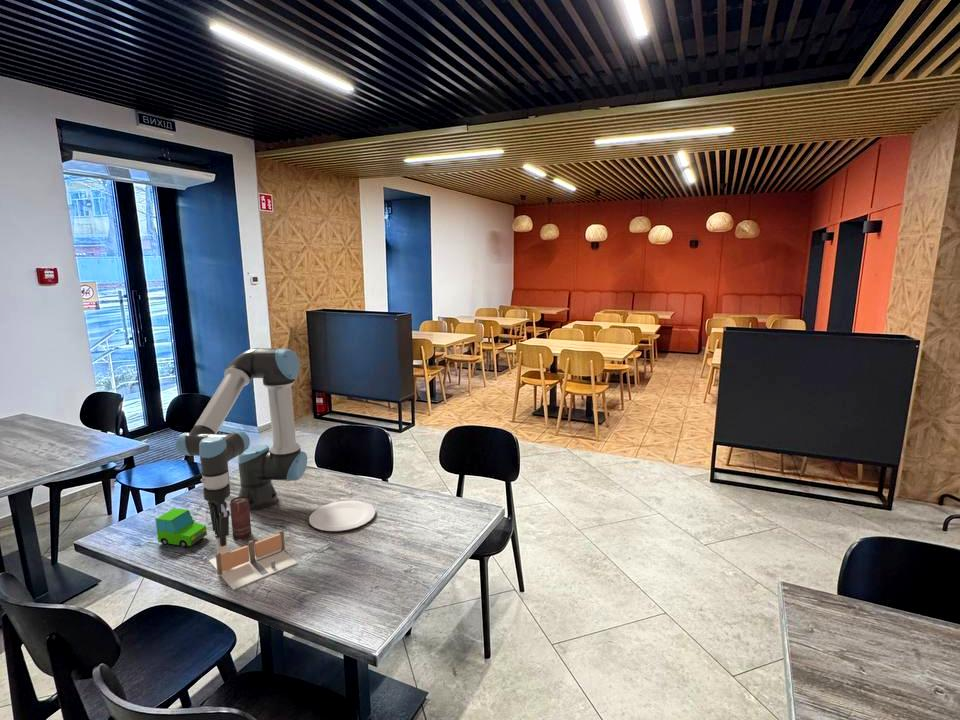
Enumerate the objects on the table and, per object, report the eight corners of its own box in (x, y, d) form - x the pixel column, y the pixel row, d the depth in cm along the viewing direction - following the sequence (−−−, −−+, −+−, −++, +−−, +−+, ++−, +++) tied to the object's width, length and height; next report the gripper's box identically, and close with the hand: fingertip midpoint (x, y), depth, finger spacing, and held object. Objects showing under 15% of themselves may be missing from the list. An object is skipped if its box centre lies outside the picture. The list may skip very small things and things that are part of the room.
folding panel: (248, 561, 167) (246, 542, 166) (249, 563, 166) (248, 544, 165) (216, 573, 161) (215, 554, 160) (218, 575, 160) (216, 555, 159)
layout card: (269, 539, 183) (268, 532, 182) (297, 563, 167) (296, 557, 167) (208, 561, 169) (208, 554, 168) (233, 590, 153) (232, 583, 153)
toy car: (189, 551, 175) (186, 523, 173) (156, 546, 178) (153, 520, 176) (210, 536, 185) (208, 510, 183) (179, 532, 188) (176, 506, 186)
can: (233, 542, 180) (230, 505, 178) (232, 534, 186) (229, 498, 184) (252, 538, 183) (249, 501, 181) (250, 530, 189) (247, 494, 186)
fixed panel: (283, 548, 176) (282, 529, 175) (285, 549, 175) (284, 530, 174) (249, 561, 168) (247, 541, 167) (251, 563, 167) (249, 543, 166)
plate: (294, 527, 192) (294, 523, 191) (336, 499, 215) (336, 496, 214) (350, 540, 182) (349, 535, 182) (387, 510, 205) (387, 506, 205)
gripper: (197, 482, 165) (203, 550, 168) (210, 495, 155) (217, 566, 159) (221, 476, 170) (227, 542, 174) (236, 487, 161) (242, 557, 165)
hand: (222, 553), depth 167 cm, fingers closed
